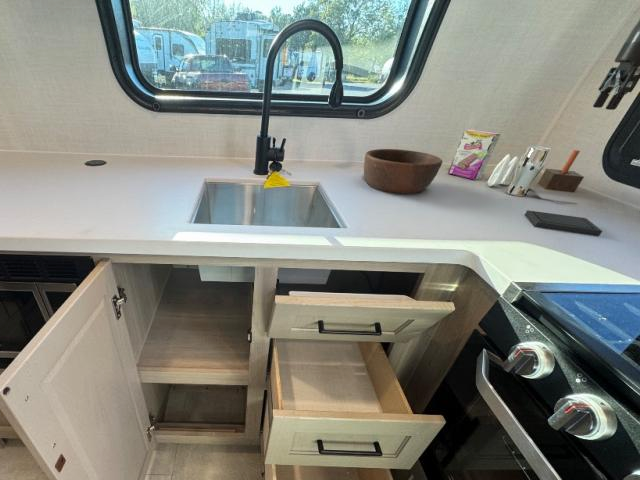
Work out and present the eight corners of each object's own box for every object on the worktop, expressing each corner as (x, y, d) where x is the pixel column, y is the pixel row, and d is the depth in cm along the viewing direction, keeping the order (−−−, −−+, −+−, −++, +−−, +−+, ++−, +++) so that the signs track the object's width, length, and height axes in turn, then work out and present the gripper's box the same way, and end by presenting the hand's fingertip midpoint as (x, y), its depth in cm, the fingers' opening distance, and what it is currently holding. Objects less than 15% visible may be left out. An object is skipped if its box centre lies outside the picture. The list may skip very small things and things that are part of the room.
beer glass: (503, 189, 115) (526, 144, 106) (527, 193, 112) (552, 147, 103) (503, 194, 111) (527, 147, 102) (527, 198, 107) (554, 150, 98)
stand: (561, 191, 115) (574, 171, 111) (570, 197, 109) (584, 176, 105) (535, 188, 118) (546, 168, 113) (542, 194, 111) (554, 173, 107)
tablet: (582, 223, 90) (586, 218, 89) (598, 236, 82) (602, 231, 82) (524, 214, 94) (527, 210, 93) (534, 227, 87) (537, 221, 86)
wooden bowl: (411, 176, 127) (420, 149, 120) (445, 197, 106) (458, 165, 100) (350, 176, 126) (356, 148, 120) (373, 196, 106) (382, 164, 99)
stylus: (553, 192, 114) (579, 150, 105) (555, 193, 112) (581, 151, 104) (548, 191, 114) (573, 149, 106) (549, 193, 113) (575, 150, 105)
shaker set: (493, 189, 115) (509, 156, 109) (482, 186, 118) (496, 154, 112) (510, 185, 120) (527, 153, 114) (499, 182, 123) (514, 151, 117)
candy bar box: (446, 174, 132) (464, 130, 122) (452, 172, 134) (470, 129, 124) (474, 180, 124) (495, 134, 114) (480, 179, 126) (501, 133, 117)
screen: (580, 220, 89) (581, 218, 89) (592, 230, 83) (593, 228, 83) (532, 214, 92) (534, 212, 92) (541, 223, 87) (542, 221, 86)
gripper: (678, 39, 82) (631, 111, 91) (646, 43, 92) (607, 107, 102) (640, 39, 84) (598, 109, 94) (614, 43, 95) (578, 106, 104)
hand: (603, 108), depth 98 cm, fingers open, 8 cm apart
